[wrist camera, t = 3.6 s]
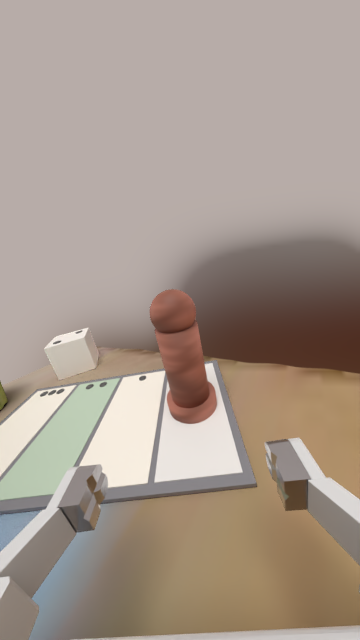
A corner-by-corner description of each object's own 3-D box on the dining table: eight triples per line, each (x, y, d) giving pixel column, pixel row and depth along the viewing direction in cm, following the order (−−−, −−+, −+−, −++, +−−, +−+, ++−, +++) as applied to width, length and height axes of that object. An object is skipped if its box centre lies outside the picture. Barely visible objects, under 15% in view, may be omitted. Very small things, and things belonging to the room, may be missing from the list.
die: (58, 380, 36) (43, 348, 34) (67, 364, 43) (55, 336, 40) (96, 368, 38) (83, 337, 36) (99, 354, 44) (88, 327, 42)
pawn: (167, 427, 20) (131, 302, 16) (170, 390, 26) (145, 290, 22) (221, 420, 20) (200, 289, 15) (213, 384, 26) (195, 280, 21)
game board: (-109, 526, 17) (-114, 522, 17) (38, 391, 34) (36, 388, 34) (256, 486, 14) (256, 481, 14) (216, 362, 31) (216, 359, 31)
